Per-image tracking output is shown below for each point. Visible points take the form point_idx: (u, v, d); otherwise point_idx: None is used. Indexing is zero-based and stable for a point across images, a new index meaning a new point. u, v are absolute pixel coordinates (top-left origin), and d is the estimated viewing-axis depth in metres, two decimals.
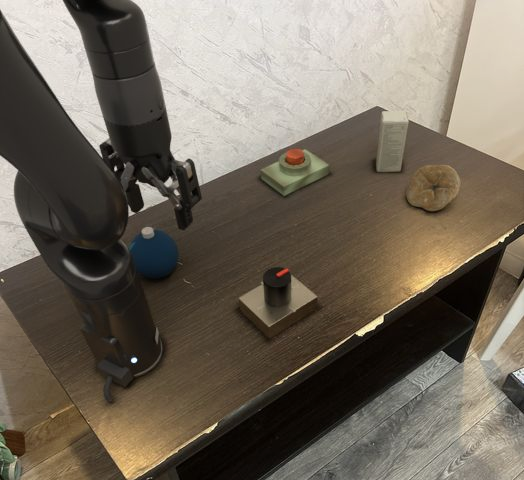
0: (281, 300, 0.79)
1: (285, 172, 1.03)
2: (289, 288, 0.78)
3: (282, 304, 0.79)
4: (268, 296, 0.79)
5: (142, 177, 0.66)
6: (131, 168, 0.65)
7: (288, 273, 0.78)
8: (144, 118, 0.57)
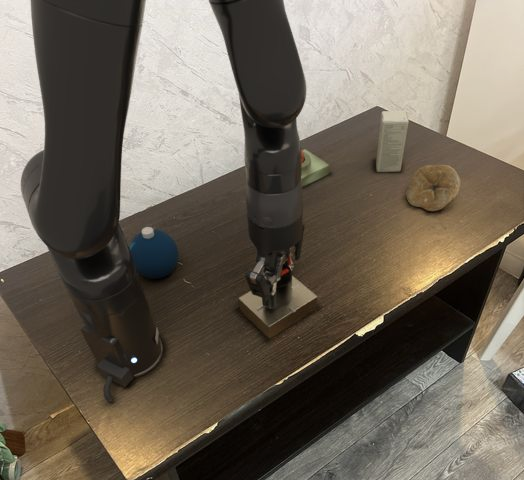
0: (281, 300, 0.79)
1: None
2: (289, 288, 0.78)
3: (282, 304, 0.79)
4: None
5: None
6: None
7: (288, 273, 0.78)
8: (250, 216, 0.66)
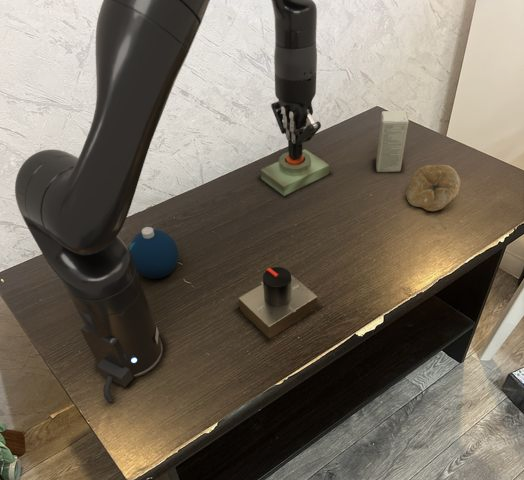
0: None
1: (285, 172, 1.03)
2: None
3: None
4: (288, 295, 0.79)
5: (289, 119, 0.96)
6: (283, 110, 0.95)
7: (272, 269, 0.79)
8: (298, 77, 0.87)
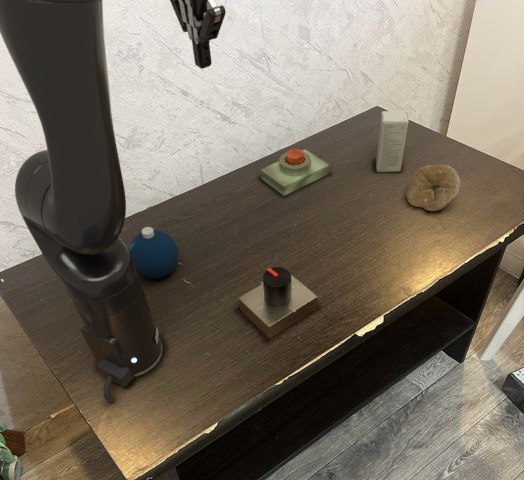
0: None
1: (285, 172, 1.03)
2: None
3: None
4: (288, 295, 0.79)
5: (187, 7, 0.73)
6: None
7: (272, 269, 0.79)
8: None
